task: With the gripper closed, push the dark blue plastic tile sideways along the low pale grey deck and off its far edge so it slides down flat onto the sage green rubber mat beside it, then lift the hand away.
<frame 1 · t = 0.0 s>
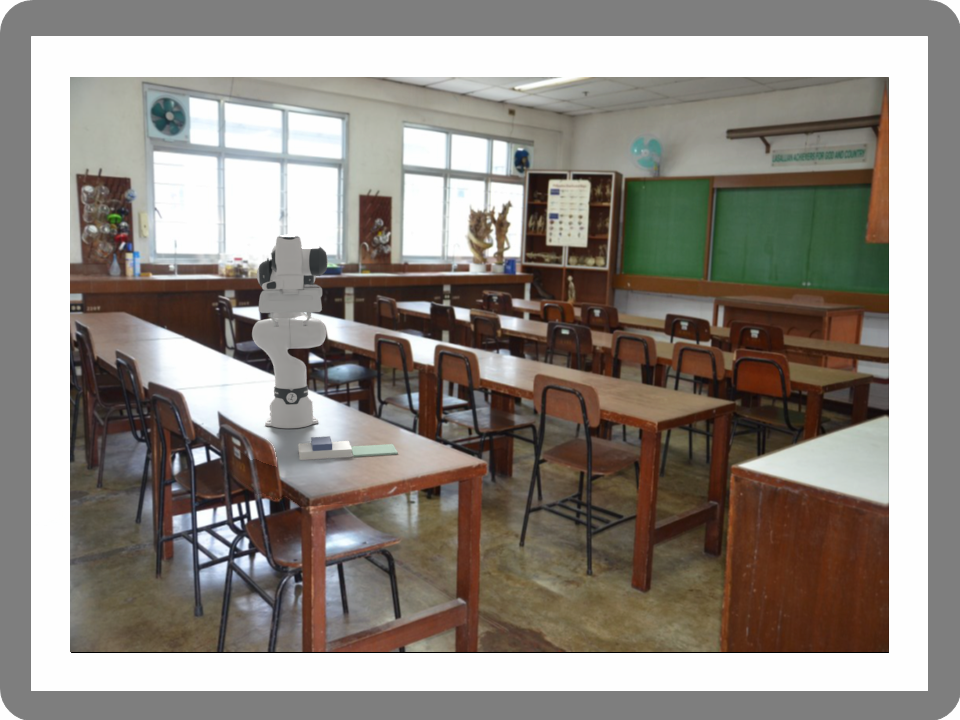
hand: (291, 326, 259), 39 cm above the table, fingers open, 8 cm apart
tile: (321, 446, 249), point 2 cm above the table, touching deck
mat: (373, 451, 254), on the table
deck: (324, 454, 250), on the table
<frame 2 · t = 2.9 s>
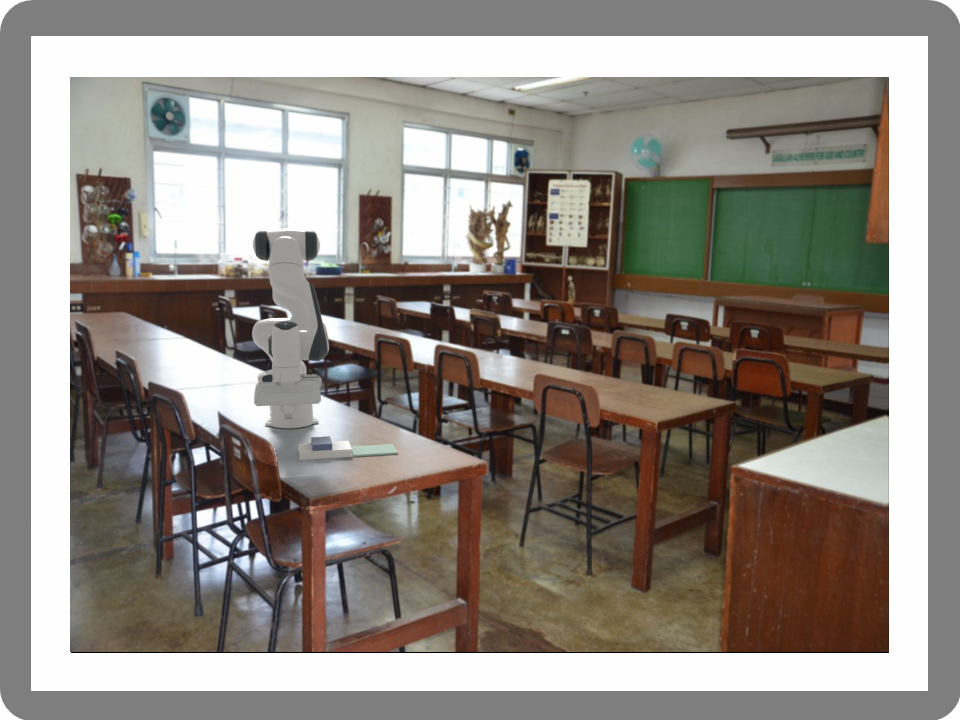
hand: (288, 418, 244), 12 cm above the table, fingers closed
nothing on the table moved.
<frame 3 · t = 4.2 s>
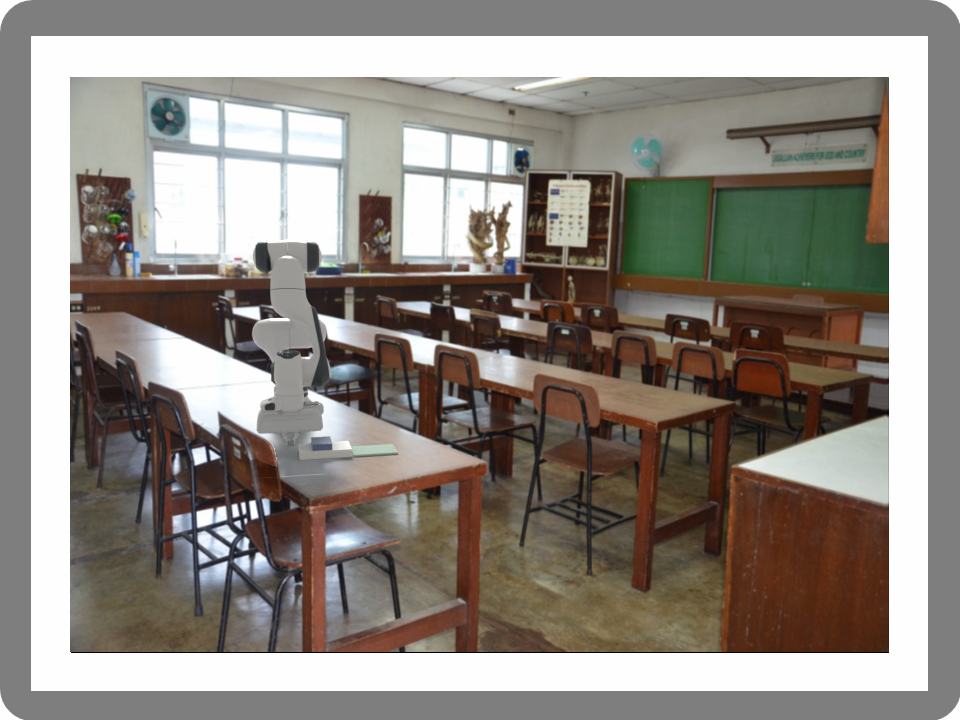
hand: (290, 445, 246), 3 cm above the table, fingers closed
nothing on the table moved.
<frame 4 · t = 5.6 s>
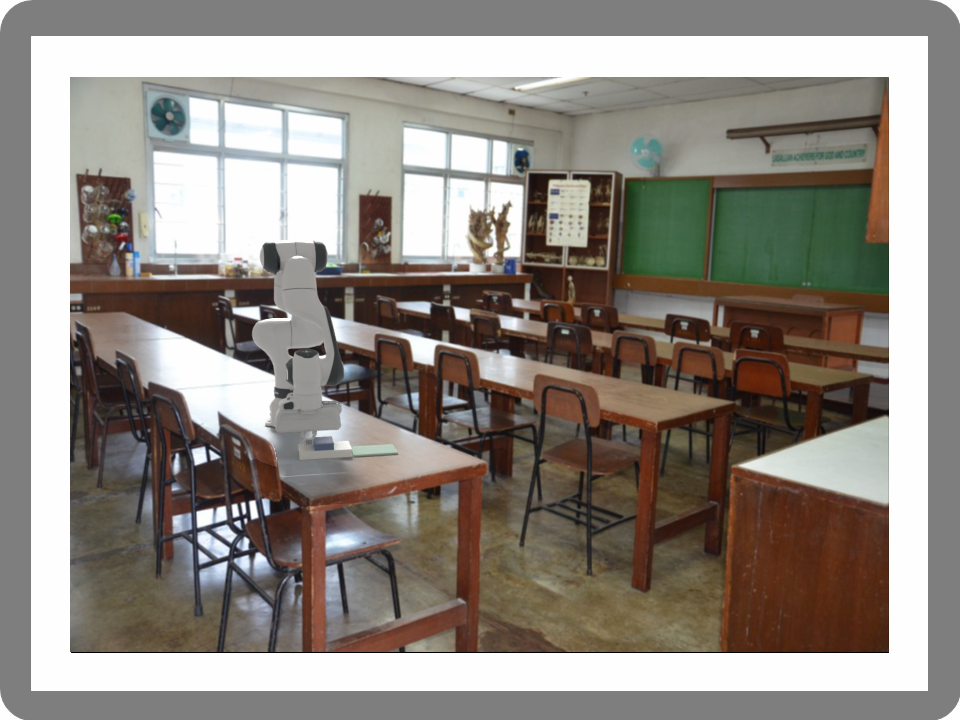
hand: (308, 444, 248), 3 cm above the table, fingers closed
tile: (323, 446, 249), point 3 cm above the table
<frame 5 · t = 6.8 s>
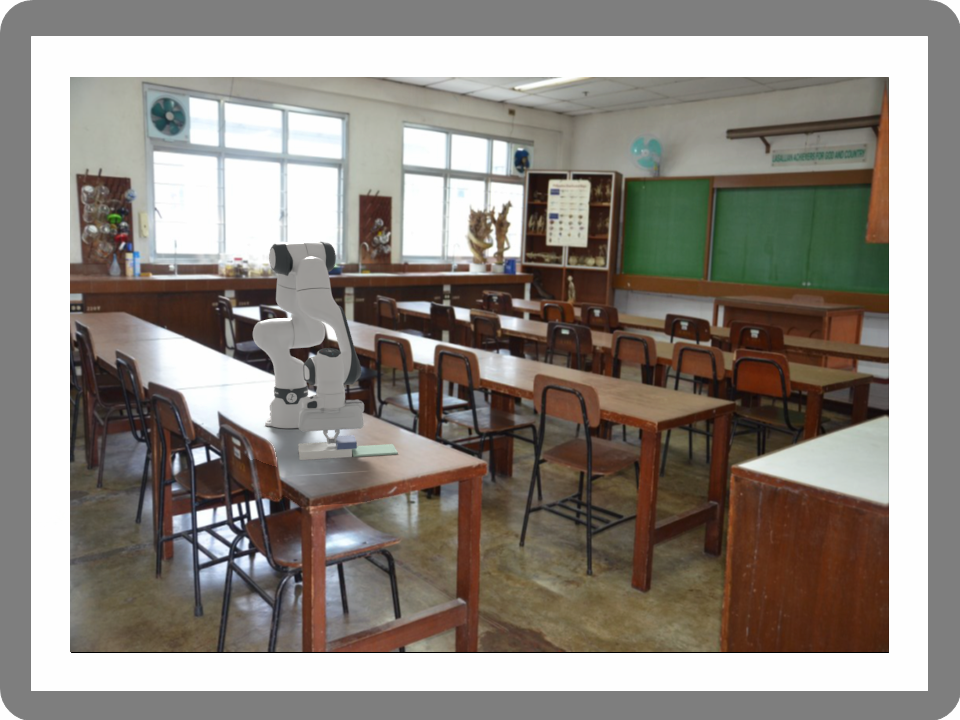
hand: (331, 443, 249), 3 cm above the table, fingers closed
tile: (345, 445, 251), point 3 cm above the table, touching deck
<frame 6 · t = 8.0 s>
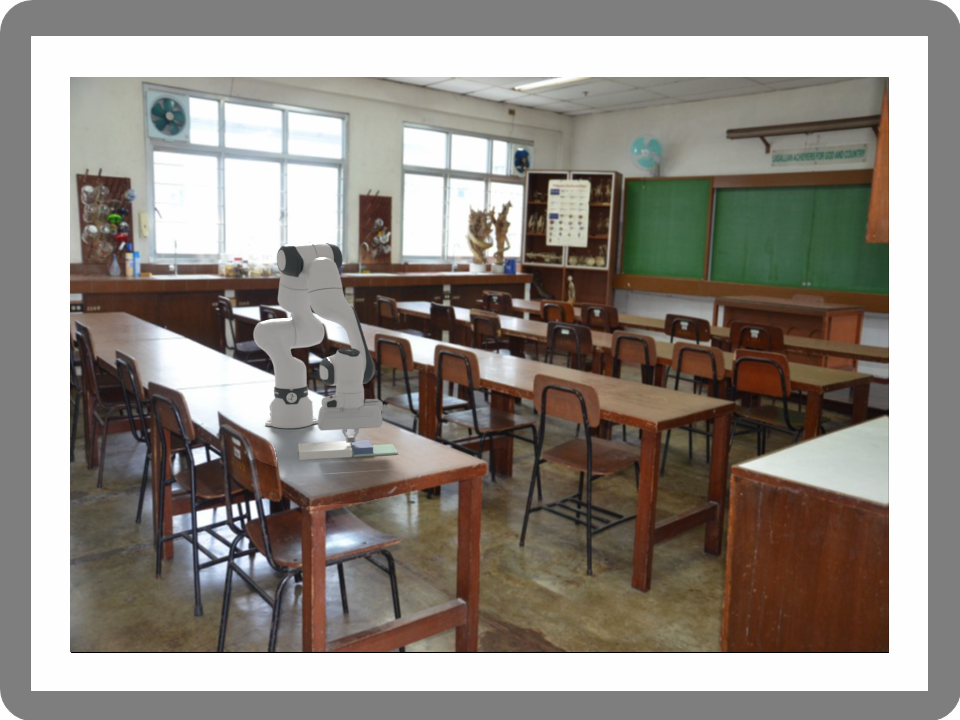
hand: (350, 442, 251), 3 cm above the table, fingers closed
tile: (361, 450, 253), point 1 cm above the table, touching mat
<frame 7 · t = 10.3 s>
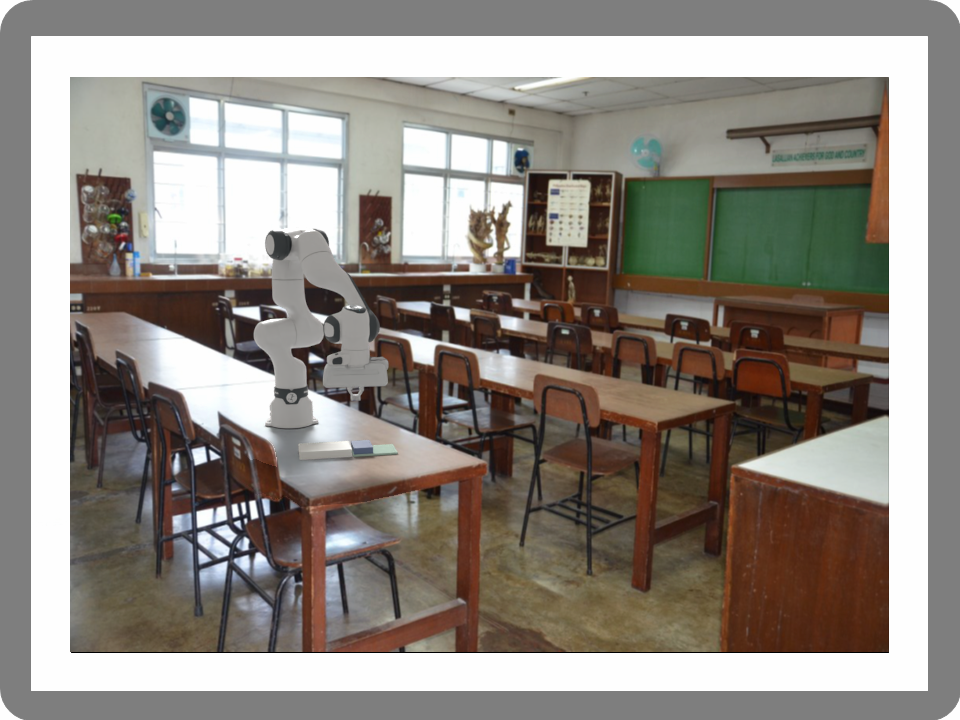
hand: (355, 400, 250), 17 cm above the table, fingers closed
nothing on the table moved.
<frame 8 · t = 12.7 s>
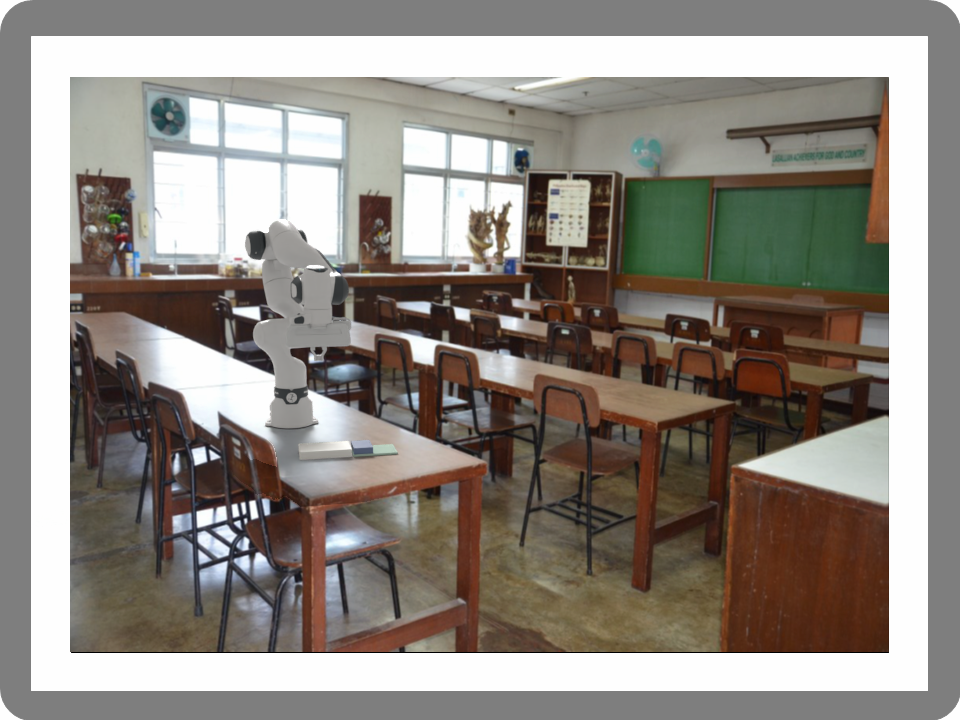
hand: (318, 360, 250), 29 cm above the table, fingers closed
nothing on the table moved.
at the end: tile inside the target area (5.1 cm from its centre), point 0.6 cm above the table; tile touching mat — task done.
